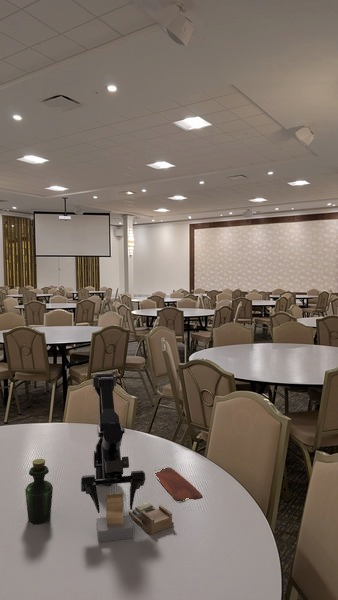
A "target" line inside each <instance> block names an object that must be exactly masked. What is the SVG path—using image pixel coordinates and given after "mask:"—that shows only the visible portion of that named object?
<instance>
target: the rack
mask: <svg viewBox="0 0 338 600" xmlns="http://www.w3.org/2000/svg"><path fill="white" fill-rule="evenodd" d="M128 515H130V516H131V519H132V520H134V521H135V522H136V523H137V524H138V525H139V526H140V527H141V528H142V527H143V528H142V529H144V530H145V531H146V532H147V534H149V535H153V534H155V533H158V532H161V531H163V530H164V531H165V530H166V529H169V528H172V527H174V524H175V523H174V521H173V513H172V512H171V511H170V510H169V509H168V508H166V507H165V506H164V505H162V504H159V505H158V508H156V507H154V505H153V504H151V503H149V502H148V501H146V502H144V503H142V504H140V505H139V504H138V505H137V506H135V507H134V508H132V511H130V510H129V511H128ZM171 526H172V527H171Z"/></svg>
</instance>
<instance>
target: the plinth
mask: <svg viewBox="0 0 338 600" xmlns="http://www.w3.org/2000/svg"><path fill="white" fill-rule="evenodd" d="M132 520H133V519H132V518H131V516H130V515H129V514H125V515H124V514H123V525H114V526H107V523H106V517H100V518H99V517H98V518H96V527H95V528H96V537H97V543H101V542H102V543H103V542H110V541H111V542H112V541H118V540H125V539H126V540H127V539H134V536H135V534H134V533H135V532H134V529H135V528H134V524H133V521H132Z"/></svg>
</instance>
